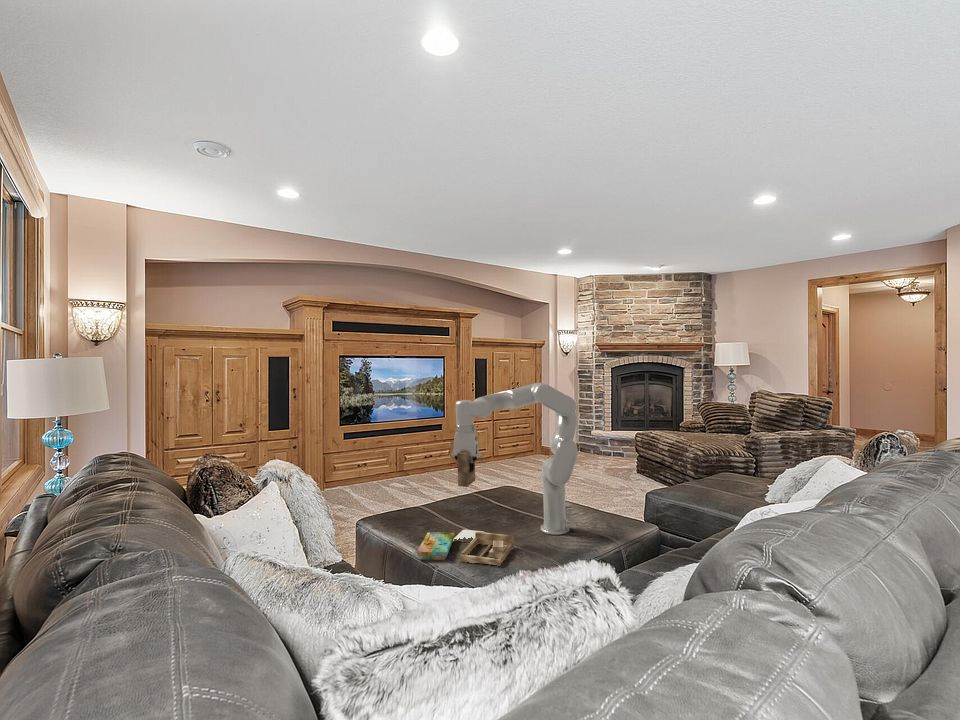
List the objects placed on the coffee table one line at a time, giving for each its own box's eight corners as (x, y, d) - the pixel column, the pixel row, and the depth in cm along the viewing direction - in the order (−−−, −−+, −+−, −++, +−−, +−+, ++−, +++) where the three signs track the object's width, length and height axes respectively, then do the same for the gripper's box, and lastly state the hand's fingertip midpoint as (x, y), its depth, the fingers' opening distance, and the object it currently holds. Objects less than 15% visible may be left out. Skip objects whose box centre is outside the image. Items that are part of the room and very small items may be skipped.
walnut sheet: (475, 480, 225) (474, 448, 224) (467, 486, 215) (465, 453, 215) (466, 480, 226) (465, 448, 226) (458, 486, 217) (457, 453, 216)
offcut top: (503, 545, 205) (503, 540, 204) (503, 552, 198) (503, 547, 198) (493, 545, 205) (493, 540, 205) (492, 552, 198) (492, 547, 198)
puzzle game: (417, 549, 199) (427, 530, 218) (417, 561, 199) (427, 541, 219) (446, 549, 197) (454, 530, 217) (447, 561, 198) (455, 541, 217)
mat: (484, 532, 226) (484, 531, 226) (474, 543, 214) (473, 542, 214) (463, 530, 229) (463, 529, 229) (451, 541, 217) (451, 540, 217)
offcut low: (507, 552, 205) (507, 545, 205) (501, 561, 197) (501, 553, 197) (495, 551, 206) (495, 544, 206) (489, 559, 199) (489, 552, 199)
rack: (513, 547, 208) (513, 535, 208) (499, 566, 191) (499, 553, 191) (476, 543, 214) (476, 531, 214) (459, 561, 197) (459, 548, 197)
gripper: (486, 428, 220) (487, 470, 221) (450, 427, 226) (452, 468, 227) (480, 431, 213) (481, 474, 214) (443, 430, 219) (445, 472, 220)
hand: (466, 471), depth 220 cm, fingers closed on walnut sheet, 4 cm apart
